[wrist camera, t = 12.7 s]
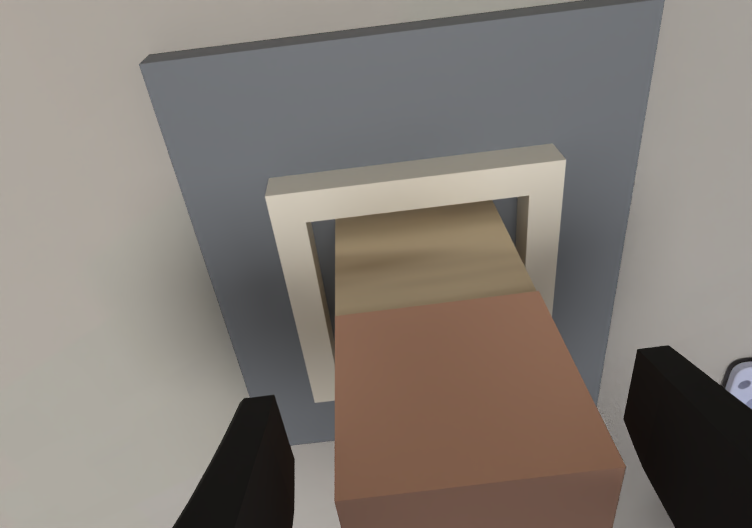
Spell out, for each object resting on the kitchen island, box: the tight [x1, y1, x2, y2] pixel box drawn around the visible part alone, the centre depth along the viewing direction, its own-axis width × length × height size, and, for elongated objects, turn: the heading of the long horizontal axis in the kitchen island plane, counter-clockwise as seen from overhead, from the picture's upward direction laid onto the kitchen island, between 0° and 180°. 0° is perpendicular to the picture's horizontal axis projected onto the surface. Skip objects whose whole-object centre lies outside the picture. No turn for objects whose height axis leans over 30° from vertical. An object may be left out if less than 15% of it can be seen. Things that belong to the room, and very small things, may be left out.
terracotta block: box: [335, 291, 626, 528], centre depth 13 cm, size 5×5×5 cm
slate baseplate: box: [139, 0, 665, 446], centre depth 19 cm, size 16×14×2 cm
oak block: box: [335, 200, 536, 316], centre depth 17 cm, size 5×5×5 cm
